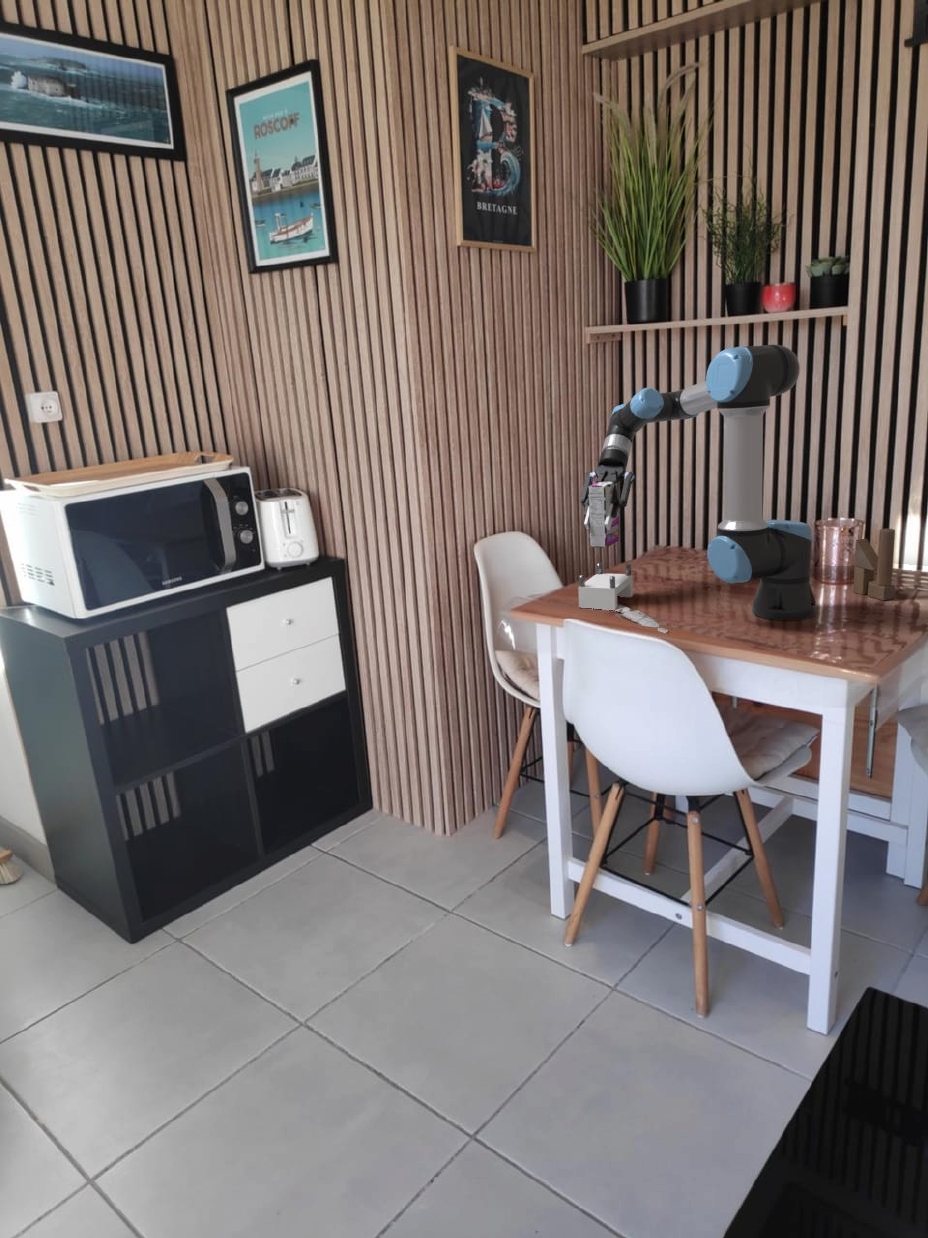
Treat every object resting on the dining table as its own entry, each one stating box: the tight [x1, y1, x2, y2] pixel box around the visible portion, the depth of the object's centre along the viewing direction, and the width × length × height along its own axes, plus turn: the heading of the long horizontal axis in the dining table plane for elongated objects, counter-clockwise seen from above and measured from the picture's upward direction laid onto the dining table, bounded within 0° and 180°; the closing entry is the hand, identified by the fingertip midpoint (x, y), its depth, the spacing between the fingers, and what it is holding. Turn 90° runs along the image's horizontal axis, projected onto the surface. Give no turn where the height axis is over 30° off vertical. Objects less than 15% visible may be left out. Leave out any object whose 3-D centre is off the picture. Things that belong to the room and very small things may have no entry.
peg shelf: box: [578, 562, 634, 611], centre depth 246 cm, size 10×16×9 cm, turn 153°
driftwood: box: [612, 603, 669, 634], centre depth 234 cm, size 37×5×2 cm, turn 19°
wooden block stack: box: [852, 528, 896, 601], centre depth 233 cm, size 4×11×18 cm, turn 20°
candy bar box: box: [588, 481, 620, 548], centre depth 241 cm, size 11×5×16 cm, turn 153°
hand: (596, 526), depth 237 cm, fingers closed on candy bar box, 5 cm apart
